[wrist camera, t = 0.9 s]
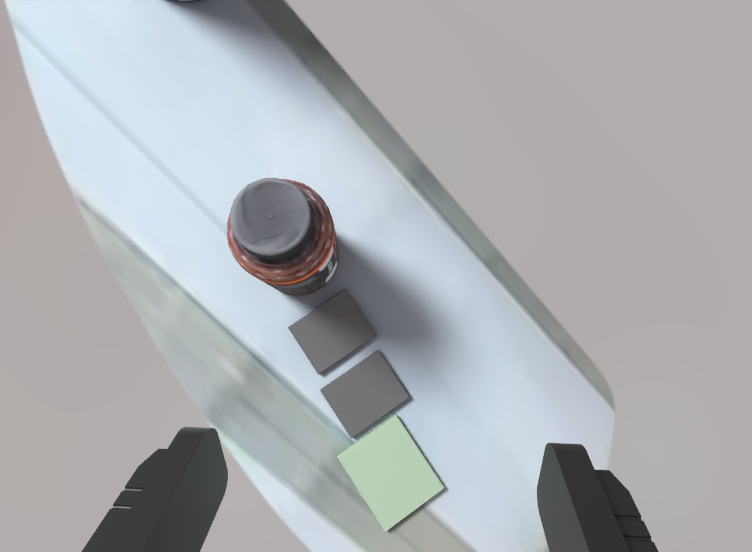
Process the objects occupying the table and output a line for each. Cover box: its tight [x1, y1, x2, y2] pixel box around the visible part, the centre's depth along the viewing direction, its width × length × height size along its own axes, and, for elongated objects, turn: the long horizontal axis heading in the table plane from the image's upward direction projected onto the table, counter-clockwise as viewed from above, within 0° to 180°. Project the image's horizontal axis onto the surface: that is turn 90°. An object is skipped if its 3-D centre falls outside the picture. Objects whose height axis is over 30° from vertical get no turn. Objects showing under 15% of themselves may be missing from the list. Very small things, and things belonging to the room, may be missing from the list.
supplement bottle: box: [227, 178, 339, 295], centre depth 27 cm, size 6×6×11 cm
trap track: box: [288, 289, 444, 532], centre depth 31 cm, size 16×7×1 cm, turn 34°
